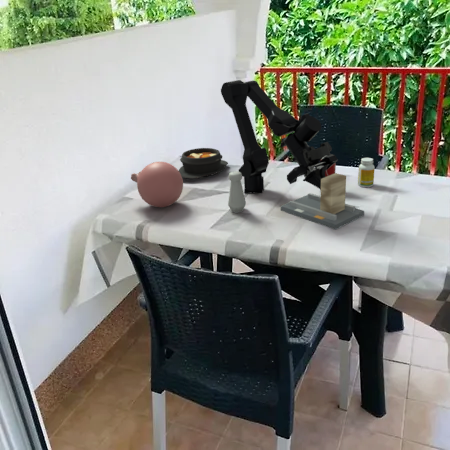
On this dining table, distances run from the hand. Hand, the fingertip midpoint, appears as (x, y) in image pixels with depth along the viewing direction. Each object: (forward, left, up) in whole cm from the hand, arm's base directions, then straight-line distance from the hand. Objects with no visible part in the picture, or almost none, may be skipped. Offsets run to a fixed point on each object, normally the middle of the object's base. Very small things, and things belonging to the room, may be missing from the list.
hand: (327, 191), depth 155 cm
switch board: (-1, +1, -8) cm, 8 cm away
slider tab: (+2, -2, -6) cm, 6 cm away
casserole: (-44, +45, -8) cm, 64 cm away
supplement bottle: (+17, +25, -8) cm, 31 cm away
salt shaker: (-28, +5, -8) cm, 30 cm away
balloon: (-56, +12, -8) cm, 58 cm away
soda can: (+3, +21, -8) cm, 23 cm away
